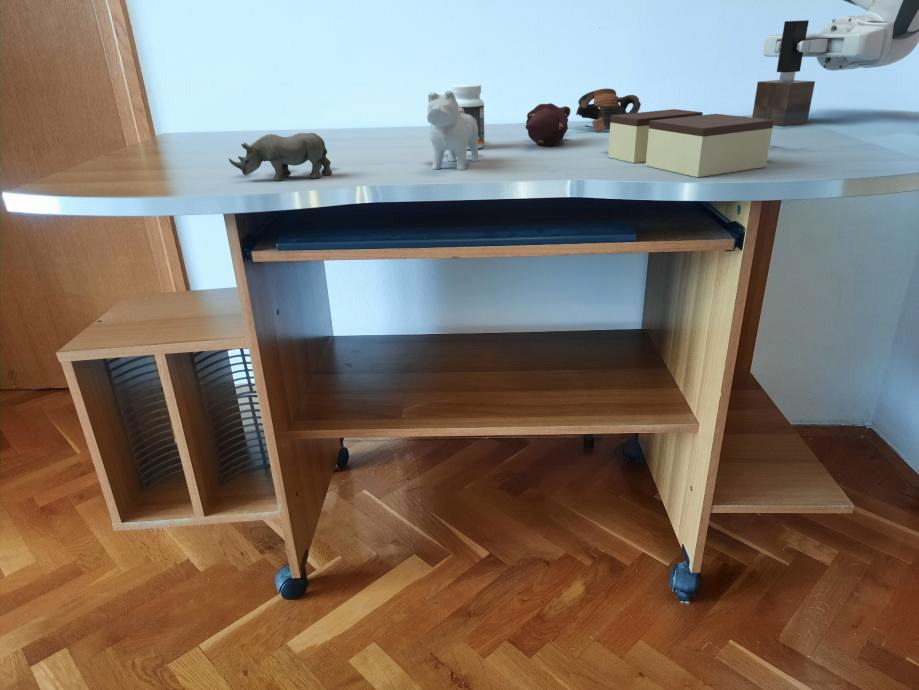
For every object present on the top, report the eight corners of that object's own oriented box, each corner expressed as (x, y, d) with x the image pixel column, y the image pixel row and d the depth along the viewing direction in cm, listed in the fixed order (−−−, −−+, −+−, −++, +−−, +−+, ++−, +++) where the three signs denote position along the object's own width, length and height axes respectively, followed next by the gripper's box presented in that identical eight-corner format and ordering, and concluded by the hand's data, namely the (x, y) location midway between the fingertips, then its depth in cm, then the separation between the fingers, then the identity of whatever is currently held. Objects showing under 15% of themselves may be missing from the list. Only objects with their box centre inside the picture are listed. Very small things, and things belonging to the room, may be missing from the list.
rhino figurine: (235, 178, 91) (227, 134, 89) (332, 172, 93) (327, 129, 90) (230, 184, 88) (222, 139, 85) (331, 178, 89) (326, 133, 87)
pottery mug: (579, 135, 120) (571, 93, 121) (584, 151, 129) (577, 112, 130) (644, 117, 117) (635, 74, 117) (645, 134, 126) (637, 94, 127)
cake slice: (697, 154, 96) (703, 112, 93) (633, 163, 91) (637, 119, 89) (670, 149, 101) (674, 109, 98) (607, 157, 96) (610, 115, 94)
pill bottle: (449, 150, 107) (446, 87, 103) (454, 145, 112) (451, 84, 108) (482, 150, 106) (481, 86, 102) (486, 144, 111) (485, 83, 107)
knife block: (806, 129, 115) (815, 81, 111) (782, 132, 112) (790, 83, 109) (773, 125, 120) (781, 79, 117) (750, 128, 118) (757, 81, 115)
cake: (766, 167, 86) (774, 120, 83) (697, 177, 81) (703, 128, 79) (710, 156, 94) (716, 113, 91) (645, 165, 89) (649, 120, 87)
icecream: (553, 110, 98) (589, 109, 110) (512, 97, 101) (552, 97, 113) (540, 155, 102) (577, 149, 113) (501, 141, 104) (541, 136, 116)
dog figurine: (421, 174, 90) (415, 93, 85) (449, 158, 100) (446, 85, 96) (457, 175, 88) (453, 92, 83) (482, 158, 99) (480, 84, 94)
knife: (791, 119, 115) (809, 20, 108) (779, 121, 114) (796, 20, 107) (780, 118, 117) (796, 20, 110) (768, 119, 116) (784, 21, 109)
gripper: (797, 26, 122) (743, 28, 117) (903, 21, 105) (847, 24, 100) (791, 62, 125) (738, 65, 120) (894, 63, 108) (838, 67, 103)
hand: (788, 46), depth 110 cm, fingers closed on knife, 2 cm apart
